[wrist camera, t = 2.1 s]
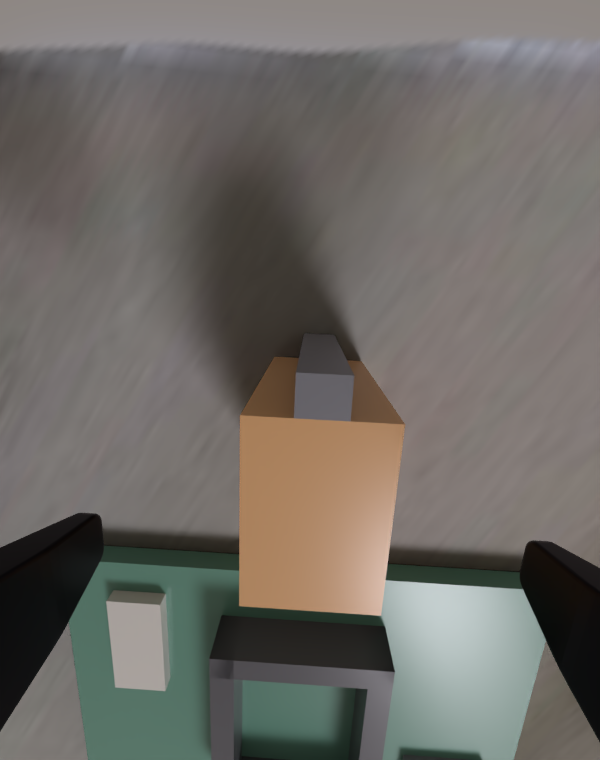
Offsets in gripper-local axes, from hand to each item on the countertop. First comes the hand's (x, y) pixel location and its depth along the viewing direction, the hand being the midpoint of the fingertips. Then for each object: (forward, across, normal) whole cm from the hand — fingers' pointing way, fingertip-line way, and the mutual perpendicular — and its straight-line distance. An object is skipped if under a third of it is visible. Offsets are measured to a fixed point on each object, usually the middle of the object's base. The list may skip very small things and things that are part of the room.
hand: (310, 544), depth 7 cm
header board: (+8, 0, +15) cm, 17 cm away
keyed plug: (+8, 0, 0) cm, 8 cm away
